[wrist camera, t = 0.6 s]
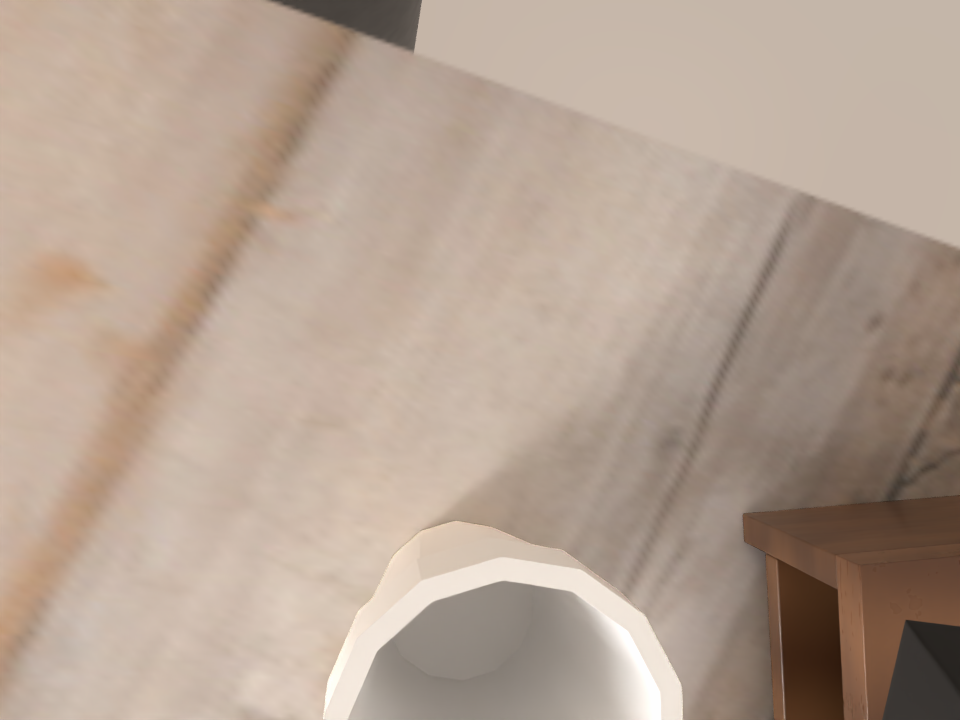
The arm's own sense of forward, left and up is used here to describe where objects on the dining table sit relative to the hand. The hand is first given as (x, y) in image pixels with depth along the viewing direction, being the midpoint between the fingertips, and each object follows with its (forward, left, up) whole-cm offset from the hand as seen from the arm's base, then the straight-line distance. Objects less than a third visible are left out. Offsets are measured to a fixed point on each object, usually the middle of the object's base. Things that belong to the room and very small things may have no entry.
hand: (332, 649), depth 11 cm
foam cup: (+7, +4, -25) cm, 26 cm away
